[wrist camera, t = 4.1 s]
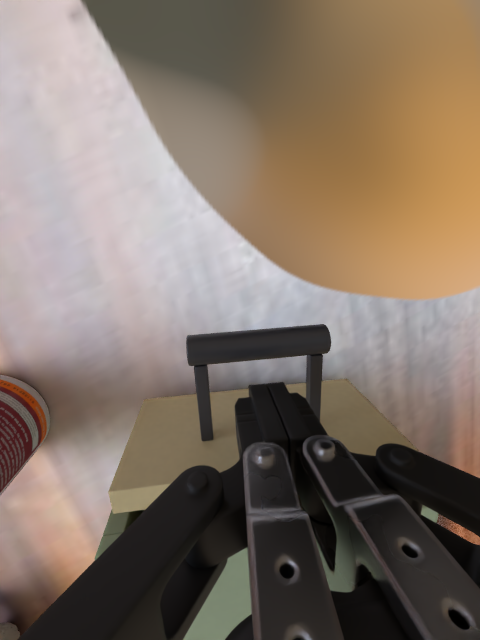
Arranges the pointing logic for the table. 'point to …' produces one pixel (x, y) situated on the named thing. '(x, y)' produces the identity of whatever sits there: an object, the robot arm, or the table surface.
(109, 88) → the table surface
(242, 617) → the cabinet
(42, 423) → the pill bottle
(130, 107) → the table surface
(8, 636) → the soldier figure
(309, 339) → the drawer
